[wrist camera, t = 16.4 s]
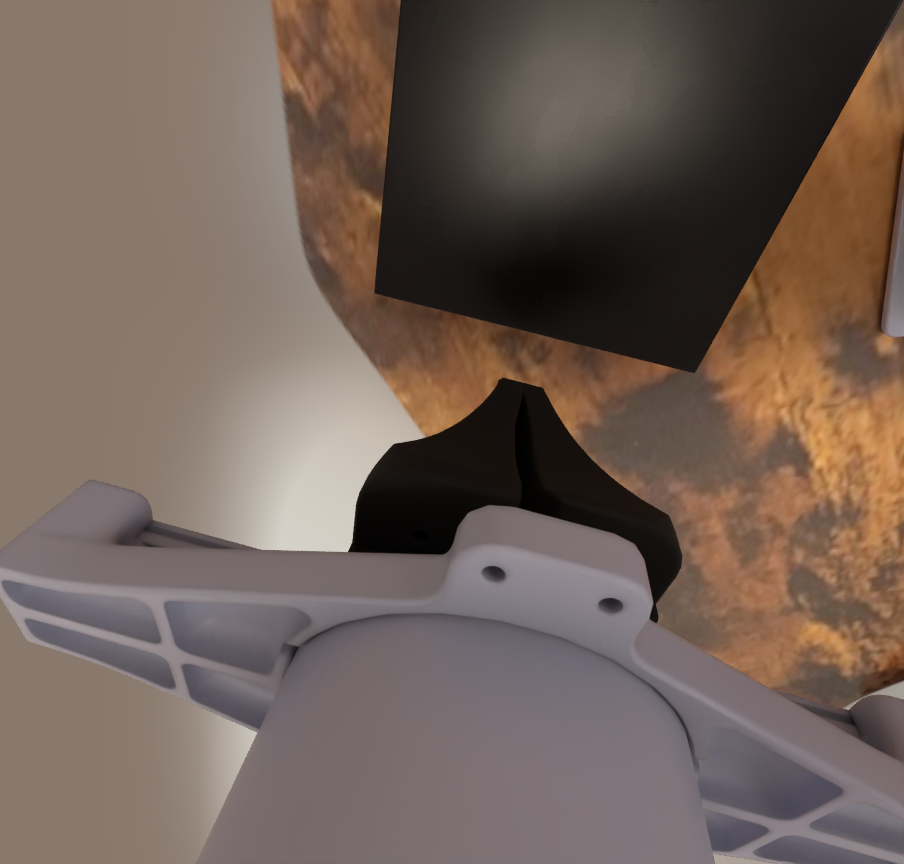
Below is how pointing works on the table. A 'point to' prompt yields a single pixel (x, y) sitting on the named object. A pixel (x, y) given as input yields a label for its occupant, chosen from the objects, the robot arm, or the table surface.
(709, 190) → the cabinet
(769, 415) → the table surface
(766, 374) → the table surface
